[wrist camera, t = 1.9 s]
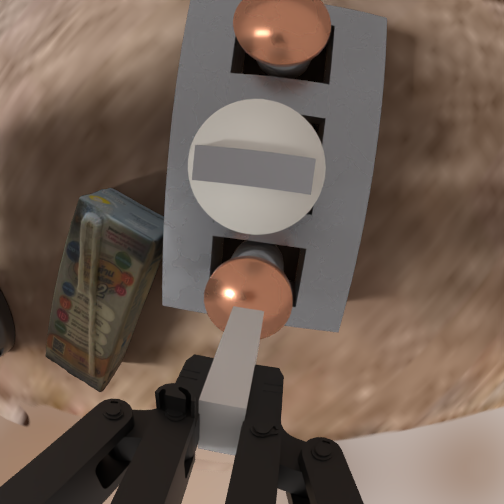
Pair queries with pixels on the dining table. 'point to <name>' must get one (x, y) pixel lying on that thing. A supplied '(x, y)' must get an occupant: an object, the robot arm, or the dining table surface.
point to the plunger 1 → (282, 33)
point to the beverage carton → (102, 284)
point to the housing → (329, 132)
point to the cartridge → (256, 166)
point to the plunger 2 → (251, 287)
